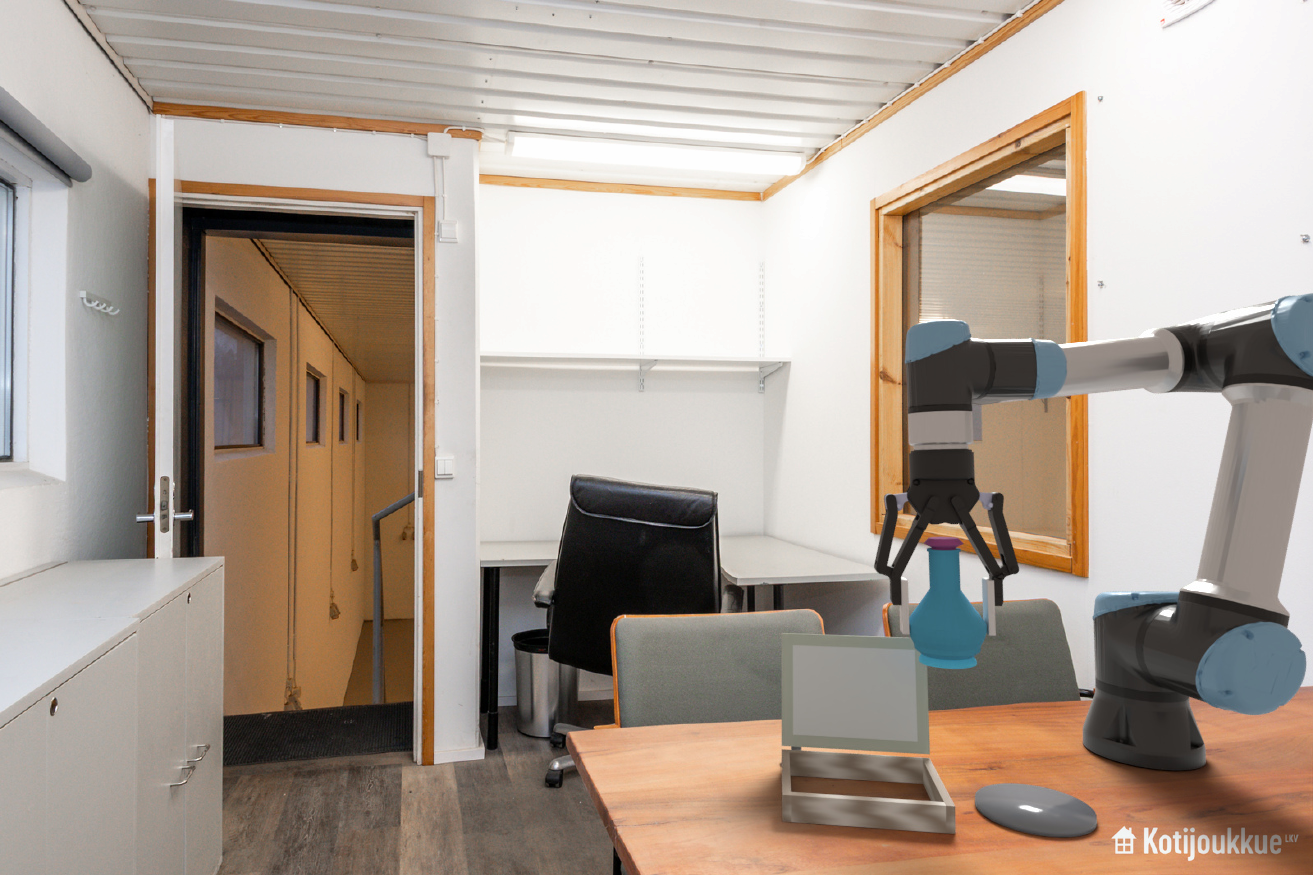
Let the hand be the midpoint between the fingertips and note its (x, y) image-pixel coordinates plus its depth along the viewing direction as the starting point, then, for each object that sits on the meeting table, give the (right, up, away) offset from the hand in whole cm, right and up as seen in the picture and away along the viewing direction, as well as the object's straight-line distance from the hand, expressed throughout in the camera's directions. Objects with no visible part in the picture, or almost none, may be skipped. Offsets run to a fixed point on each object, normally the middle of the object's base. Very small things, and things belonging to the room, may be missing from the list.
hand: (946, 632), depth 96 cm
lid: (-9, -10, +9) cm, 16 cm away
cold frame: (-10, -21, 0) cm, 23 cm away
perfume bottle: (0, -4, 0) cm, 4 cm away
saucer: (+9, -21, -3) cm, 23 cm away
